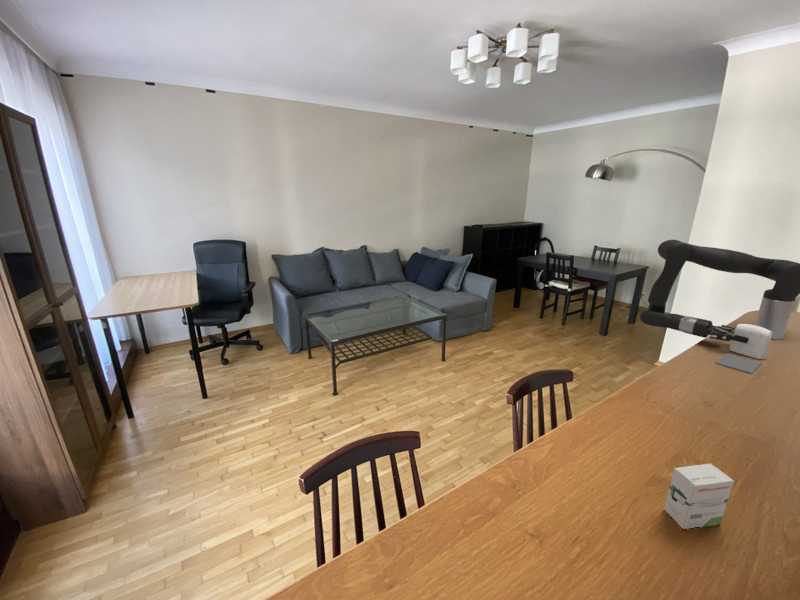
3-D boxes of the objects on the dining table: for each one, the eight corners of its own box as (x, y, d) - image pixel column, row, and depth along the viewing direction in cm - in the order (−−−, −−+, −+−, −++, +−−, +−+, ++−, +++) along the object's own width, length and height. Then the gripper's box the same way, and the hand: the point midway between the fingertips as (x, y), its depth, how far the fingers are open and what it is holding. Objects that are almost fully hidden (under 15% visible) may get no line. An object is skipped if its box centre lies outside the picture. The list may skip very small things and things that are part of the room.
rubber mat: (725, 354, 133) (726, 353, 133) (761, 364, 125) (761, 362, 125) (714, 363, 127) (715, 362, 127) (751, 374, 119) (751, 372, 119)
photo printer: (766, 357, 129) (775, 328, 125) (762, 360, 127) (771, 331, 123) (731, 348, 138) (739, 320, 134) (726, 350, 136) (734, 322, 132)
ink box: (698, 504, 72) (711, 461, 69) (722, 526, 68) (736, 480, 64) (661, 509, 72) (672, 465, 68) (682, 531, 67) (695, 486, 63)
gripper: (690, 322, 140) (746, 335, 126) (703, 314, 147) (758, 325, 133) (686, 338, 142) (741, 352, 128) (699, 330, 149) (753, 342, 135)
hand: (749, 339), depth 131 cm, fingers closed on photo printer, 4 cm apart
